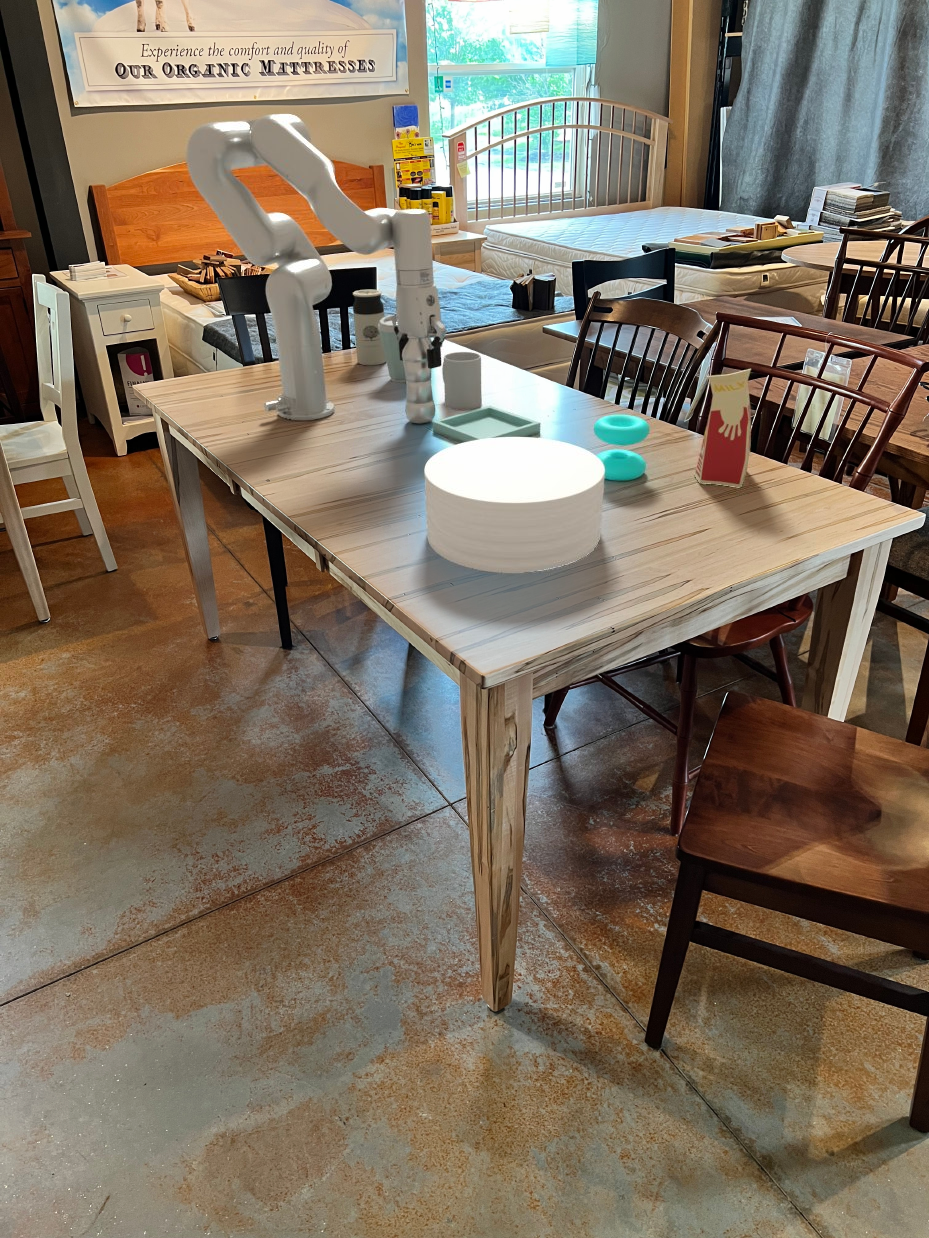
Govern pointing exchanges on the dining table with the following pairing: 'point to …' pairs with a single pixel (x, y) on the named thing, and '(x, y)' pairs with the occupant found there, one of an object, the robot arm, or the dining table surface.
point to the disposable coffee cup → (391, 349)
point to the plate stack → (514, 503)
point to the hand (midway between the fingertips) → (420, 363)
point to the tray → (485, 425)
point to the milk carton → (726, 432)
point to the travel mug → (368, 327)
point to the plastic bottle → (418, 381)
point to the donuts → (621, 433)
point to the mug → (462, 380)
